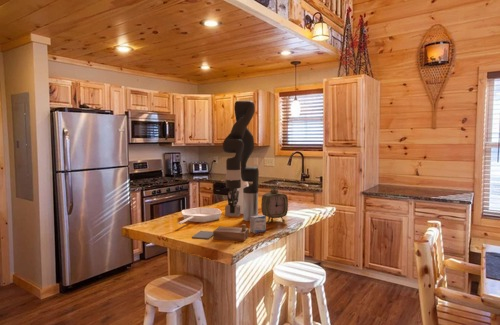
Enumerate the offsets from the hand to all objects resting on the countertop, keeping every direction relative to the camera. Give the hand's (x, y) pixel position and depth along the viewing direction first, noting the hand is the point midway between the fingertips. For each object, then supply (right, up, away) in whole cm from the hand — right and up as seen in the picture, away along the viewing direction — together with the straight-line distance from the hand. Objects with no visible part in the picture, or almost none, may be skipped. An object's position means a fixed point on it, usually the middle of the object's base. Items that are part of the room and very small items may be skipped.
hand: (233, 212), depth 170 cm
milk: (+2, -10, +63) cm, 63 cm away
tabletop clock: (+23, -11, +34) cm, 43 cm away
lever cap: (0, -2, 0) cm, 2 cm away
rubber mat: (-15, -13, +4) cm, 20 cm away
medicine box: (+13, -13, +12) cm, 22 cm away
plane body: (-1, -13, +1) cm, 13 cm away
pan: (-25, -11, +36) cm, 45 cm away
